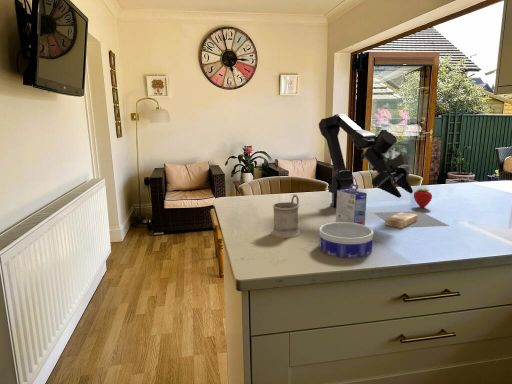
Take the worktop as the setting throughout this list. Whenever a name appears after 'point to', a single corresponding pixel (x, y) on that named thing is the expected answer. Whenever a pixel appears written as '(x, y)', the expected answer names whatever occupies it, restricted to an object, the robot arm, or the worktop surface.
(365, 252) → the dog bowl
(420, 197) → the strawberry
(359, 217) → the ink cartridge box
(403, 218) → the board
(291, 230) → the mug
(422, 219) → the mat
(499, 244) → the worktop surface
